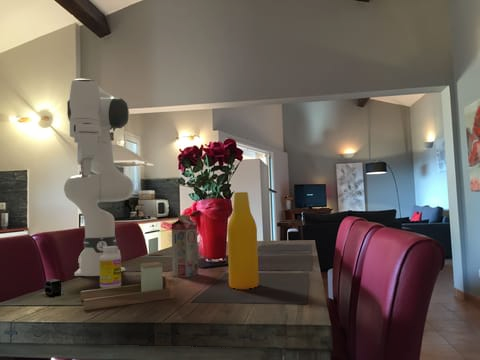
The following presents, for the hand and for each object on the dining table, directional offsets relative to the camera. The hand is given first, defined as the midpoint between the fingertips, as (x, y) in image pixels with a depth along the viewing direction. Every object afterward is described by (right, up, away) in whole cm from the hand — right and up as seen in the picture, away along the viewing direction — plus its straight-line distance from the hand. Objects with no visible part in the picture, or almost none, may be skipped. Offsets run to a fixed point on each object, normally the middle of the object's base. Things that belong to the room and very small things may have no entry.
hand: (85, 176), depth 116 cm
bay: (+14, -34, -9) cm, 38 cm away
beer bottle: (+48, -34, +3) cm, 59 cm away
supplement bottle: (+4, -36, +9) cm, 37 cm away
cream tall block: (+21, -34, -6) cm, 41 cm away
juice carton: (+26, -36, +26) cm, 52 cm away
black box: (-10, -36, +1) cm, 38 cm away
